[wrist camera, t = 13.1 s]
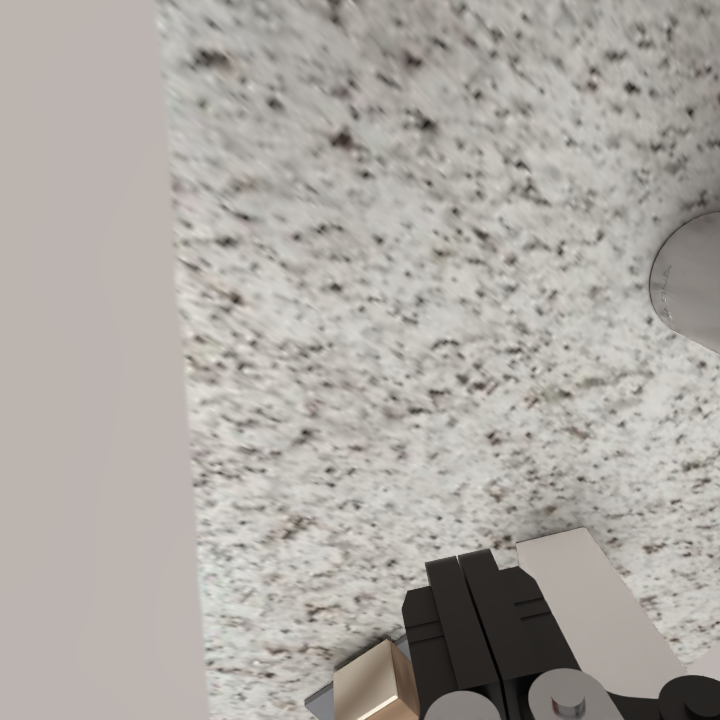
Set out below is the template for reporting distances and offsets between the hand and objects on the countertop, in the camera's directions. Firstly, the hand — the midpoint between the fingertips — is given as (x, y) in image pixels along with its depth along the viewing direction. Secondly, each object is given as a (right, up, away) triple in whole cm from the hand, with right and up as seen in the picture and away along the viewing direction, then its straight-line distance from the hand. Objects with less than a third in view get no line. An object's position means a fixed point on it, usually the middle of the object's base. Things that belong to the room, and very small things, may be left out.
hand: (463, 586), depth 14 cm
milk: (+14, -12, +39) cm, 43 cm away
